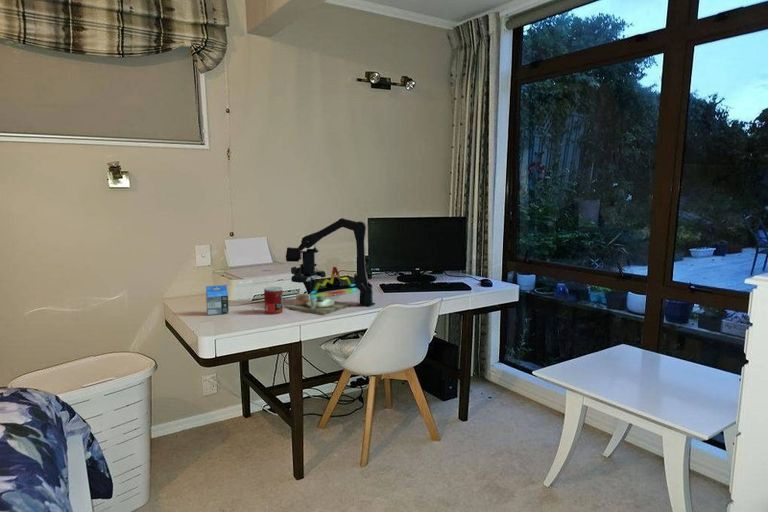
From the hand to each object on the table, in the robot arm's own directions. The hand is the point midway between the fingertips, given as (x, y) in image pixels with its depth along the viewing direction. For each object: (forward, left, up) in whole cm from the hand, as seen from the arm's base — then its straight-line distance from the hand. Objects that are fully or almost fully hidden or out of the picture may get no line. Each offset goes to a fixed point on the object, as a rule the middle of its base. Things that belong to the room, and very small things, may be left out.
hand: (309, 294), depth 230 cm
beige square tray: (+2, +9, -5) cm, 10 cm away
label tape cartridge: (+35, -22, -5) cm, 42 cm away
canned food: (+20, -3, -5) cm, 21 cm away
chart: (-20, -3, -5) cm, 21 cm away
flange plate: (+3, +7, -3) cm, 8 cm away
